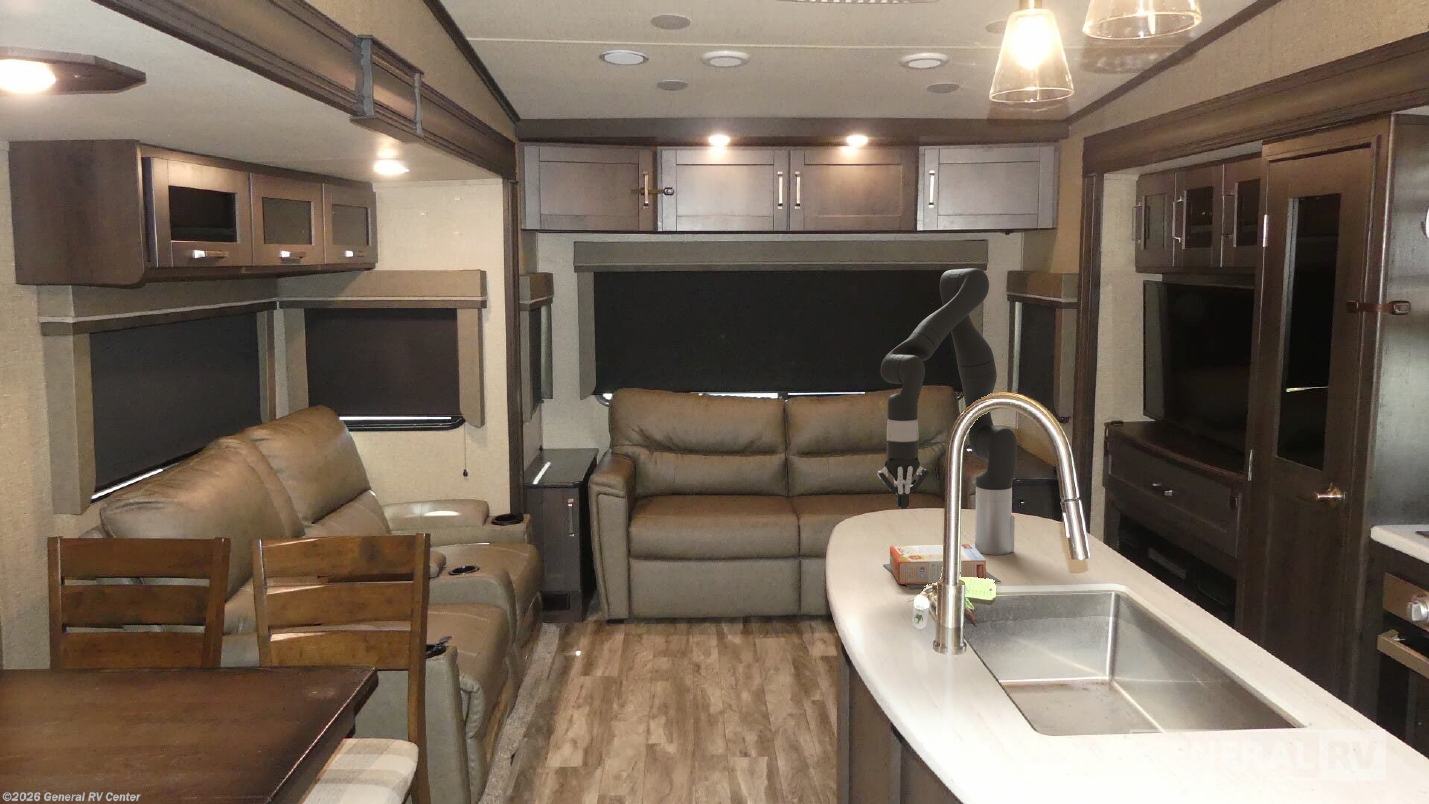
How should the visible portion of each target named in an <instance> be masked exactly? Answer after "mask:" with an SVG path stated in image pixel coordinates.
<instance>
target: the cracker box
mask: <svg viewBox="0 0 1429 804" xmlns="http://www.w3.org/2000/svg"><path fill="white" fill-rule="evenodd" d="M943 545H944V544H932V545H931V544H926V545H890V546H889V564H890V568H891V570H892V572H893V574H894V577H895V580H896V581H897V583H898V585H905V584H930V583H936V582H938V580H939V579H940V577H941V573H942V567H943ZM960 545H961V572H960V574H961V577H978V578H984V579H986V571H987V559H985V557H984V556H983V555H982V553H980V552H979V551H978V550H977V549H976V548H975V545H974V544H973V543H969V544H968V543H965V544H960ZM893 574H892V575H893Z"/></svg>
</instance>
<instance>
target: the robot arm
mask: <svg viewBox="0 0 1429 804" xmlns="http://www.w3.org/2000/svg"><path fill="white" fill-rule="evenodd" d="M939 279H940V281H939V293H940V297H941V298H940V299H941V303H942V306H941V307H940V308H939V309H937V310H936V311H934V312H933V313H931V314H930V315H928V316H927V317H925V318H924V319H923V320H921V322H919V324H918V325H917V326H916V328H915V329H914V330H913V332H912V333H911V334H910V335H909V336H908V338H907V339H906V340H904V341H903V342H901V343H900V344H898V345H897V346H896V347H895V348H893V349H892V350H891V351H889V352H888V353H887V354H886V355H885V357H884V358H883V360H882V362H881V365H880V375H881V377H882V379H883V380H884V381H885V382H886V383H890V384H895V385H897V384H898V385H902V388H901V391H900V393H893V394H892V395H891V394H890V396H888V400H887V424H886V460H885V463H884V467H883V468H882V469H880V470H877V471H876V473H875V474H876V476H877V477H878V478H879V479H880V481H881V482H882V483H883V485H884V486H885V487H886V488H887V490H889V491H890V492H892V493H894V494H895V505H896V506H897V507H898V509H900V510H907V508H908V507H909V506H910V494H911V493H912V492H916V491H917V489H919V487H920V486H921V485H922V483H923V482H924V480H926V477H927V476H928V475H929V470H927V469H926V468H924V467H922V466H921V463H920V461H919V438H920V433H919V423H918V403H919V399H920V394H921V392H922V387H923V384H924V380H925V375H926V367H925V363H924V361H927V360H929V359H930V358H931V357H932V356H933V355H934V353H935V352H936V350H937V349H938V348H939V347H940V345H941V344H942V343H943V342H944V340H945V339H946V338H947V337H948V336H949V334H950V333H951V337H952V342H953V346H954V347H953V348H954V351H955V356H956V363H957V368H958V374H959V377H960V382H961V385H962V393H963V398H964V404H965V409H966V408H967V407H968V406H970V405H971V404H972V403H973V402H975V401H976V400H978V399H981V397H984V396H987V395H988V394H990V393H992V394H993V392H994V389H995V386H996V383H997V379H998V378H997V376H998V374H997V368H996V362H995V357H994V353H993V350H992V348H991V346H990V344H989V342H988V341H987V340H986V339H985V337H984V336H983V335H982V334H981V333H980V331H979V330H978V328H976V326H975V325H974V323H973V321H972V320H971V317H970V314H971V313H972V312H973V311H974V310H975V309H976V308H978V306H980V304H982V303H983V301H984V300H985V299H986V298H987V296H988V294H989V291H990V281H989V277H988V275H987V273H986V272H985V271H984V270H982V269H980V268H975V267H974V268H973V267H971V268H957V269H955V268H954V269H949V270H946V271H945V272H944V273H942V275H941V277H940V278H939ZM968 441H969V446H970V450H971V452H972V454H973V455H974V456H976V458H979V459H982V460H987V462H988V463H987V470H985V472H981V473H979V474H977V475H976V478H975V517H974V518H975V523H974V524H975V526H974V527H975V528H974V529H975V530H974V532H975V534H974V539H975V540H974V547H975V548H976V549H977V550H978V551H979V553H980V554H986V555H993V556H994V555H998V556H999V555H1006V554H1009V553H1014V552H1015V527H1016V526H1015V525H1016V524H1015V522H1016V517H1015V515H1012V513H1013V510H1012V509H1013V506H1012V504H1013V498H1012V497H1013V481H1014V479H1015V476H1016V470H1017V469H1016V467H1017V458H1018V457H1017V455H1018V454H1017V453H1018V452H1017V451H1018V442H1017V436H1016V434H1015V432H1014V431H1013V430H1012V429H1011V428H1008V427H1004V426H999V425H994V423H993V419H992V413H991V411H990V412H988V413H987V414H984V415H982V416H981V417H979V418H978V420H976V421H975V423H974V424H973V426H972V427H971V428H970V431H969V433H968ZM915 474H916V475H915ZM889 475H890V476H891V477H892V478H893V482H894V483H892V482H891V480H889V478H888V477H889ZM914 476H915V477H914ZM912 478H913V479H912ZM893 484H894V485H893Z"/></svg>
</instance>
